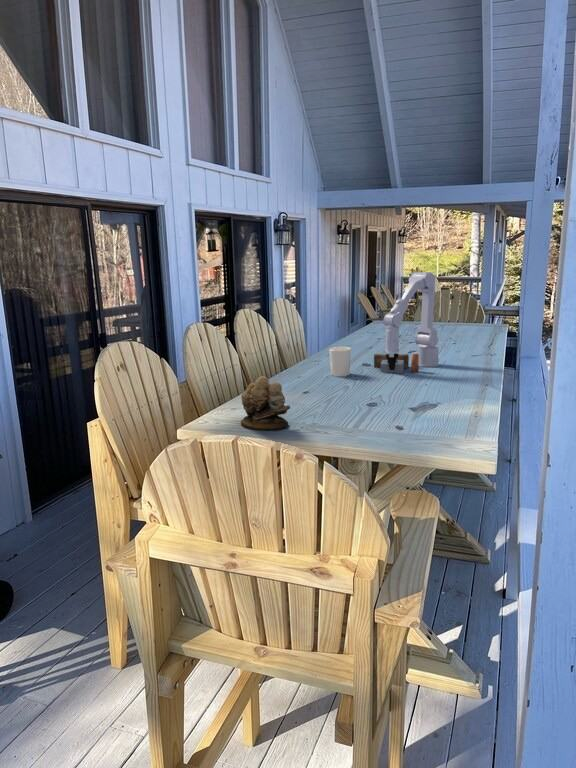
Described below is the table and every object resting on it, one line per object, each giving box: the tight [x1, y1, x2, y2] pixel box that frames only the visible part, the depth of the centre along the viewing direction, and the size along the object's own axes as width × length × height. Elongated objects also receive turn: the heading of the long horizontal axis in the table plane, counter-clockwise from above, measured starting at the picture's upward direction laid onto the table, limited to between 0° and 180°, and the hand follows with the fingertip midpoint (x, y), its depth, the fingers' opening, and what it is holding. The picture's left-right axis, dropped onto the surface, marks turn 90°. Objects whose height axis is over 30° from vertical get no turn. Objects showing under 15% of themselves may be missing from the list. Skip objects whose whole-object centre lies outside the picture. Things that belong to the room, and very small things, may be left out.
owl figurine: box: [240, 375, 291, 432], centre depth 180 cm, size 18×12×17 cm, turn 65°
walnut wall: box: [373, 353, 410, 369], centre depth 259 cm, size 16×3×6 cm, turn 77°
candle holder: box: [328, 346, 352, 377], centre depth 247 cm, size 10×10×12 cm
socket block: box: [380, 360, 405, 374], centre depth 253 cm, size 10×10×4 cm
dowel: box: [410, 353, 420, 374], centre depth 248 cm, size 3×3×8 cm
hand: (392, 369), depth 247 cm, fingers closed
